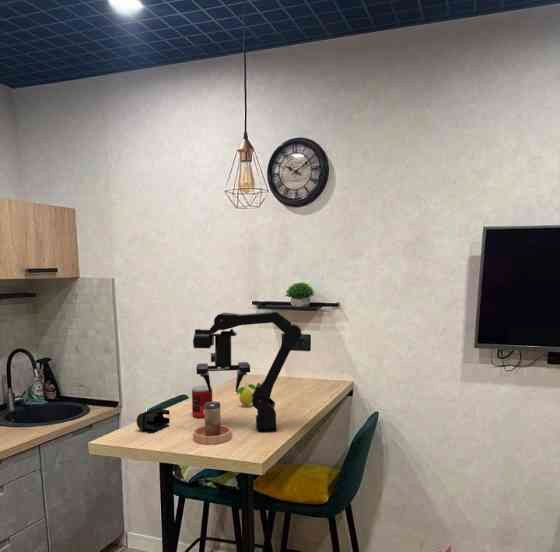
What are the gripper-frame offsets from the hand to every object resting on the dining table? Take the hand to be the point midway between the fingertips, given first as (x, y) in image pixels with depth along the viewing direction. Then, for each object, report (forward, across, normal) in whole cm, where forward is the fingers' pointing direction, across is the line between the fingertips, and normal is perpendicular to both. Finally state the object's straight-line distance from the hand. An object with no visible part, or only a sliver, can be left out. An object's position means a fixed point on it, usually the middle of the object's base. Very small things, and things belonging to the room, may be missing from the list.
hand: (223, 392), depth 169 cm
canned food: (+14, +7, -18) cm, 24 cm away
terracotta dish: (+13, +4, +9) cm, 16 cm away
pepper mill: (+12, +4, +9) cm, 16 cm away
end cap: (+14, +25, -6) cm, 29 cm away
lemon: (+13, -11, -28) cm, 33 cm away
